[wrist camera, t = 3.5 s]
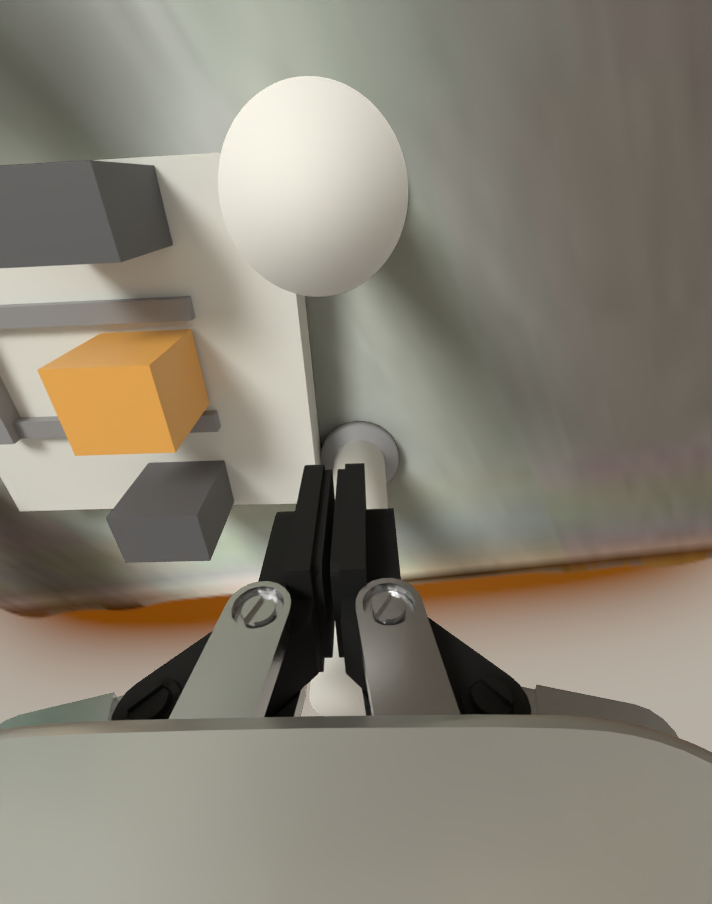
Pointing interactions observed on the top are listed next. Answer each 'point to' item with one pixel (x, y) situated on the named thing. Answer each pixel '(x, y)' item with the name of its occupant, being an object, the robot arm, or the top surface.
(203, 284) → the panel
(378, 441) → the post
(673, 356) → the top surface
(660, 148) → the top surface
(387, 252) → the white rounded rod
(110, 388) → the smooth orange cube
